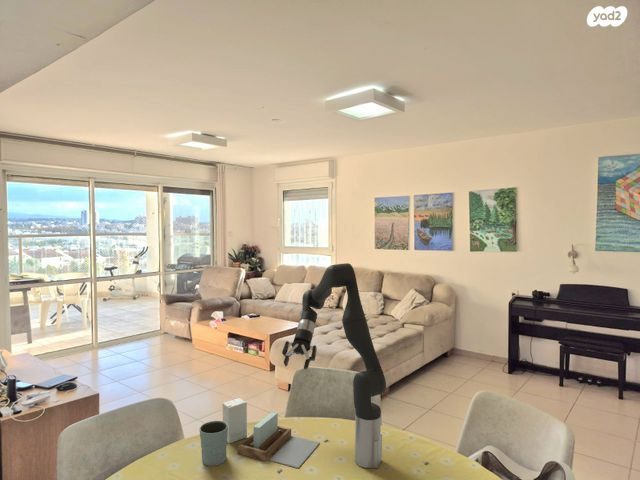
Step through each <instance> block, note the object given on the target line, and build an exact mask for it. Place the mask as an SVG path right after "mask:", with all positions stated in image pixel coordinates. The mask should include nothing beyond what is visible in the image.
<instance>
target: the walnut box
mask: <svg viewBox="0 0 640 480" xmlns="http://www.w3.org/2000/svg"><path fill="white" fill-rule="evenodd" d="M290 438H292V428H288V427H284V426H280V425H278V430H277V431H276V432H275V433H274V434H273V435H272V436H271V437H270V438H268V439H267V440H266V441H265V442H264V443H263V444H262V445H261V446H259V449H256V448H253V446H254V432H253V433H252V434H250V435H249V436H247V437H246V439H245V440H243V441H242V442H241V443H240V444H238V448H237V449H238V454H239V455H241V456H246V457H251V458H254V459H257V460H262V461H265V462H266V461H267V460H269V459H270V458H271V457H272V456H273V455H274V454H275V453H276V452H277V451H278V450H279V449H280V448H281V447H282V446H283V445H284V444H285V443H286V442H287V441H288V440H289V439H290Z"/></svg>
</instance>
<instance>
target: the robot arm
mask: <svg viewBox="0 0 640 480" xmlns="http://www.w3.org/2000/svg"><path fill="white" fill-rule="evenodd" d="M343 287H345V288H346V294H347V299H346V301H347V302H346V304H345V308H344V311H343V314H342V320H341V322H342V327H343V330H344V333H345V338H346V340H347V342H349V344H350V345H351V346H352V348H353V349H354V350H355V351H356V352H357V353H358V354H359V355H360V357H361V359H362V361H363V364H364V366H365V370H363V371H359V372H356V373H355V374H354V377H353V379H352V380H353V382H352V383H353V384H352V388H353V389H352V391H353V392H352V394H353V406H354V410H355V414H354V415H355V419H354V420H355V422H354V423H355V425H354V428H355V430H354V431H355V433H354V436H355V437H354V461H355V462H354V463H355V464H356V465H357V466H359V467H361V468H365V469H379V466H380V465H381V462H382V461H383V435H382V434H381V431H382V430H381V429H382V423H381V422H382V421H381V420H382V408H381V407H380V406H379V405H378V404H376V403H374V402H372V398H373V397H376V396H379V395H382V394H383V393H385V391H386V388H387V382H386V381H387V380H386V376H385V375H384V374H385V373H384V371H383V369H382V367H381V366H382V365H381V363H380V361H379V358H378V355H377V353H376V350H375V349H376V348H375V347H374V343H373V340H372V336H371V333H370V329H369V325H368V321H367V319H366V315H365V312H364V308H363V305H362V301H361V297H360V293H359V292H360V291H359V287H358V281H357V277H356V273H355V270H354V267H353V265H352V264H350V263H337V264H331V265H329V266H328V267H327V268H326V269H325V270H324V272H323V274H322V277H321V278H320V281H319V283H318V284H317V285H316V286H315V287H314V288H313V290H309V289H308V290H305V292H304V293H303V295H302V299H301V301H302V304H301V305H302V309H301V310H302V311H301V316H300V320H299V321H298V325H297V328H296V330H295V331H296V332H295V334H294V338H293V341H292V342H289V340H286V341H285V343H284V346H283V349H282V355H283V357H284V360H283V364H284V366H285V367H288V364H289V363H290V362H289V361H290V358H291V357H292V356H294V355H295V354H296V355H301V356H304V355H305V357H306V359H305V361H304V365H303V369H304V370H307V369H308V368H309V366H310V362H311V361H313V362H315V360H316V356H317V350H318V348H317V346H316V345H315V344H314V345H311V344H312V340H313V336H314V333H315V327H316V322H317V319H318V313H317V312H316V310H321V309H323V307H324V306H325V302H326V300H327V299H328V298H329V297H330V296H331V294H332V291H333V288H343ZM314 309H315V310H314ZM310 350H311V356H309V354H308V352H309V351H310Z"/></svg>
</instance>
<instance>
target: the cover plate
mask: <svg viewBox="0 0 640 480" xmlns="http://www.w3.org/2000/svg"><path fill="white" fill-rule="evenodd" d="M278 415H279V414H278V412H274V411H271V412H270V413H269V414H268V415H266V416H265V417H263V419H261V420H260V421H258V422H257V423H256V424H255V425H254V426H253V433H254V446H253V448H256V449H259V446H261V445H262V444H263V443H264V442H265V441H266V440H267V439H268V438H270V437H271V436H272V435H273V434H274V433H275V432H276V431H277V430H278V426H279V425H278V423H279V422H278V420H279V416H278Z"/></svg>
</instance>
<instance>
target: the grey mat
mask: <svg viewBox="0 0 640 480" xmlns="http://www.w3.org/2000/svg"><path fill="white" fill-rule="evenodd" d="M320 443H321V442H319V441H314V440H310V439H306V438H301V437H298V436H293V435H292V436H291V437H290V438H289V439H288V440H287V441H286V442H285V443H284V444H283V445H282V446H281V447H279V448H278V449H277V450H276V451H275V452H274V453H273V454H272V455H271V456H270V457H269V458H268V462H272V463H276V464H280V465H284V466H287V467H292V468H294V469H299V468H300V467H302V465H304V463H305V462H306V460H307V459H308V458H309V457H310V455H312V454H313V452H314V451H315V450H316V449H317V448H318V447H319V445H320Z"/></svg>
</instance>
